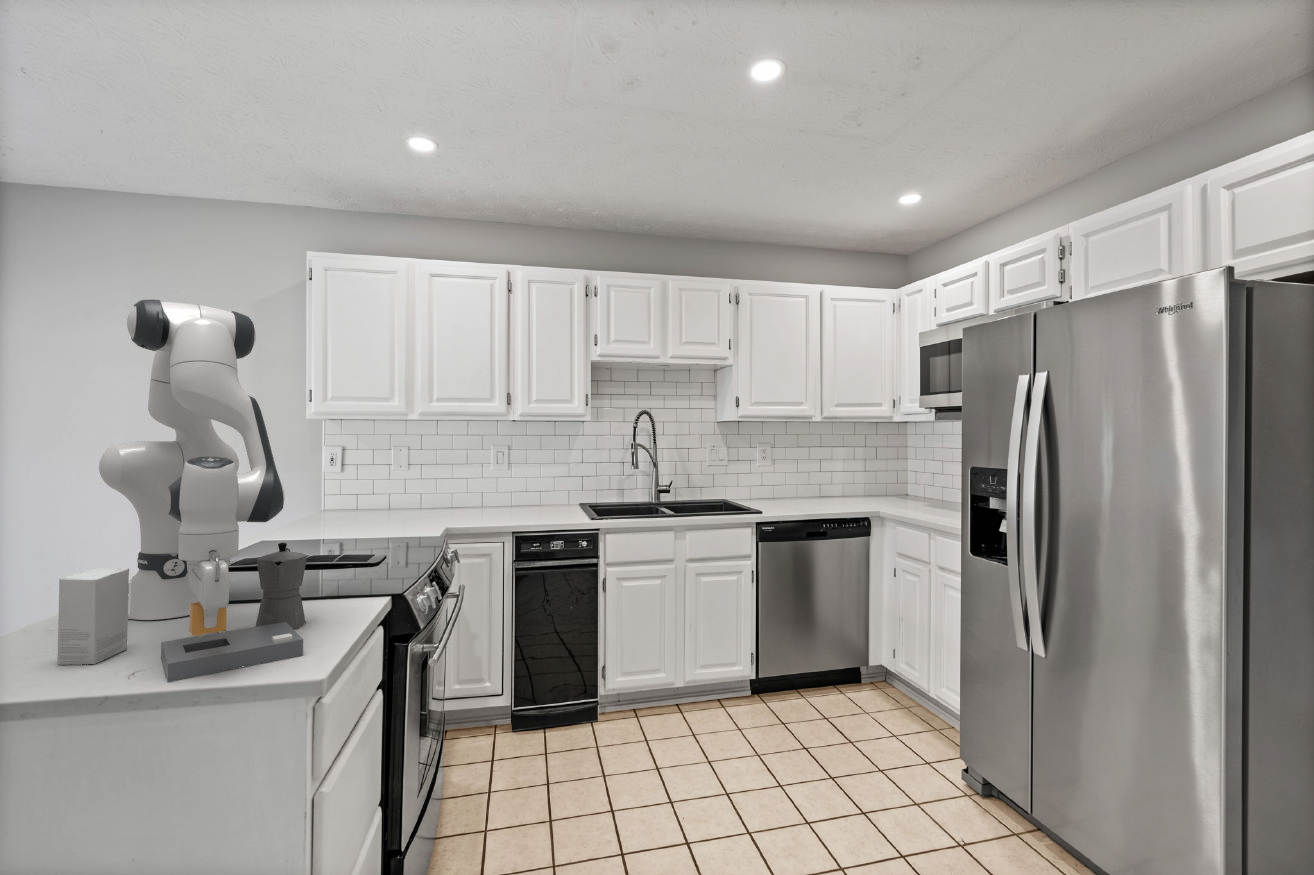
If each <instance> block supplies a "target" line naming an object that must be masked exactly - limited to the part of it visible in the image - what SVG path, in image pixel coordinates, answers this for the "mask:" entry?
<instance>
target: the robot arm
mask: <svg viewBox="0 0 1314 875" xmlns="http://www.w3.org/2000/svg"><path fill="white" fill-rule="evenodd" d="M126 320H127V321H126V327H127V331H128V334H129V335H130V338H131V339H130V340H131V341H132V342H133V343H134V344H135V345H136V346H138V347H139V348H141V349H145V350H149V351H152V352H155V354H154V357H153V362H152V365H151V366H152V367H151V373H150V380H149V391H148V403H147V410H148V413H149V415H150V416H151V418H152V419H153V420H155V421H156V422H158V423H160V424H162V425H164V426H166V427H168V428H170V429H173V430H174V431H175V436H176V437H175V440H171V441H170V440H169V441H166V440H165V441H163V440H162V441H161V440H159V441H158V440H157V441H156V440H154V441H150V440H149V441H148V440H146V441H143V440H140V441H138V440H137V441H131V442H124V443H119V444H113V445H111V446H110V447H108V448H107V449H106V450H105V452H104V453H103V454H102V455H101V457H100V459H99V462H98V471H99V476H100V477H101V479H102V481H103V482H104V483H105V484H106V485H107V486H108V487H109V488H111V489H112V490H115V491H117V492H118V493H120V494H121V495H123V496H124V497H125V498H126V499H127V500H128V501H129V502H130V503H131V505H132V506H133V508H134V510H135V512H136V513H137V517H138V521H139V529H140V534H139V535H140V551H139V552H138V553H137V559H136V561H137V569H138V571H137V573H136V574H135V575H133V576H132V577H131V578H130V579H129V585H128V620H140V621H154V620H155V621H156V620H165V619H166V620H168V619H174V618H181V617H186V616H190V603H197V602H199V603H200V604H201V606H202V607H203V609H204V617H203V625H204V627H205V628H212V627H215V626H216V625H217V614H218V610H219V608H224V607H227V608H228V606H229V603H230V574H229V571H230V570H229V565H230V564H231V558H233V557H235V556H238V555H239V540H240V539H239V537H240V536H239V535H240V532H239V531H240V530H239V529H240V528H239V527H240V526H239V524H238V523H241V522H243V523H244V522H246V523H267V522H269V521H271V520H272V519H273V518H275V517H276V516H278V514H280V512H282V511H283V509H284V505H285V490H284V487H283V485H282V484H283V483H282V482H281V479H280V476H279V472H278V470H277V467H276V463H275V458H274V455H273V452H272V447H271V443H270V440H269V439H270V438H269V435H268V431H267V428H266V422H265V421H264V416H263V413H262V410H261V408H260V405H259V403H258V401H257V399H256V398H254V396H253V397H252V396H251V395H249V394H248V393H247V392H246V391H245V390H244V388H243V387H242V384H241V383H240V381H239V376H238V361H237V360H239V359H243V358H245V357H247V356H249V355H250V354H251V353H252V350H253V349H254V346H255V343H256V340H257V334H256V329H255V324H254V322H253V321H252V319H251V318H250V317H249V315H246V314H243V313H240V312H237V311H233V310H232V311H229V310H225V309H221V308H217V307H212V306H209V305H203V304H192V303H185V302H175V301H174V302H173V301H161V300H160V299H140V300H139V301H138V302H136V303H134V305H133V307H132V309H131V310H130V311H129V313H128V315H127V319H126ZM212 421H216V422H218V423H222V424H224V425H226V426H229V427H230V428H233V429H234V430H236V431H237V432H238V433H239V434H240V436H241V438H242V439H243V442H244V448H245V450H246V451H245V452H246V455H247V459H248V463H249V467H250V471H248V472H238V471H239V467H240V466H239V465H240V462H239V456H238V454H237V452H236V451H235V449H233V447H232V446H230V445H229V444H228V443H226V442H225V441H224V440H223V439H222V438H220V436H219V435H218V433H217V432H216V430H215V428H214V426H213V423H212Z"/></svg>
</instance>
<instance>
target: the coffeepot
mask: <svg viewBox="0 0 1314 875" xmlns="http://www.w3.org/2000/svg"><path fill="white" fill-rule="evenodd" d="M277 545H278V551H276V552H272V553H269V554H268V553H267V554H266V555H262V556H259V557H256V563H257V571H258V577H259V585H260V589H261V590H262V591H263V592H262V594H263V595H262V598H261V599H260V604H259V608H258V613H257V618H256V623H255V627H257V626H263V625H270V624H276V623H282V622H287V623H288V624H289V625H290V626H291V627H292V628H293V629H294V630H297V629H300V628H302V627H303V626H304V625H305V624H306V616H305V612H304V611H305V610H304V606H303V601H302V595H301V594H300V587H301V586H303V580H304V575H305V571H306V564H307V560H308V554H304V553H302V552H297V551H291V549H290V548H288V547H287V545H288V543H286V542H280V543H277Z"/></svg>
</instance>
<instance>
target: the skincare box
mask: <svg viewBox="0 0 1314 875" xmlns="http://www.w3.org/2000/svg"><path fill="white" fill-rule="evenodd" d="M129 576H130V568H128V567H126V568H123V567H121V568H120V567H115V568H114V567H113V568H112V567H95V568H90V569H88V570H85V571H81V572H80V571H79V572H78V573H74V574H70V575H68V576H64V577H61V578H58V579H59V580H58V585H59V586H58V618H57V619H58V620H57V621H58V624H57V625H58V626H57V628H58V630H57V631H58V632H57V663H56V664H57V666H70V665H69V664H72V665H71V666H83V665H82V664H85V665H84V666H89V665H88V664H95V665H96V663H97V664H98V663H101V662H103V661H105V660H106V659H108V658H109V659H110V658H111V657H113V656H115V655H117V654H120V653H121V652H123V651H126V650H128V631H129V630H128V625H129V624H128V622H129V621H128V620H129V619H128V596H129V594H128V585H129V580H130V579H129V578H130V577H129ZM104 659H105V660H104ZM100 661H101V662H100ZM67 664H68V665H67ZM86 664H87V665H86Z"/></svg>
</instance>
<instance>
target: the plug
mask: <svg viewBox="0 0 1314 875" xmlns="http://www.w3.org/2000/svg"><path fill="white" fill-rule="evenodd" d="M227 608H228V606H227V607H224V608H219V610H218V614H217V625H216V626H215V627H212V628H205V627H204V625H203V617H204V609H203V607H202V606H201V604H200V603H199V602H197V603H190V615H189V633H190V635H191V637H196V636H199V638H202V635H208V634H214V633H215V634H219V633H220V632H226V631H227Z"/></svg>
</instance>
